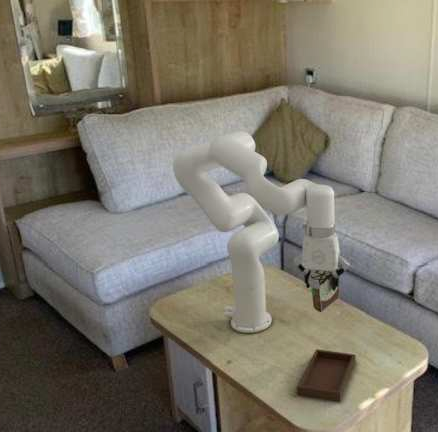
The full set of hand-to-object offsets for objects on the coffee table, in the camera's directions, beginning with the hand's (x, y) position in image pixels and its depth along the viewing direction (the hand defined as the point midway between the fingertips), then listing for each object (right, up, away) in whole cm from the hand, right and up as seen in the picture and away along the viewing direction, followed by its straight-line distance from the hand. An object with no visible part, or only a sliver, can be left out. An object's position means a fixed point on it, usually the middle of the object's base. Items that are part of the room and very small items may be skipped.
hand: (321, 286), depth 178 cm
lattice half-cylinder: (0, -5, +2) cm, 5 cm away
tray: (+2, -24, -7) cm, 25 cm away
